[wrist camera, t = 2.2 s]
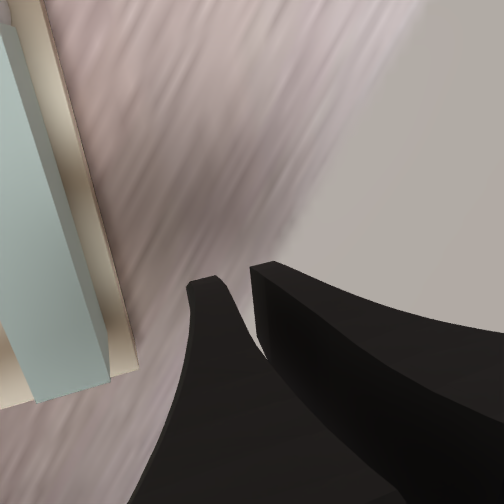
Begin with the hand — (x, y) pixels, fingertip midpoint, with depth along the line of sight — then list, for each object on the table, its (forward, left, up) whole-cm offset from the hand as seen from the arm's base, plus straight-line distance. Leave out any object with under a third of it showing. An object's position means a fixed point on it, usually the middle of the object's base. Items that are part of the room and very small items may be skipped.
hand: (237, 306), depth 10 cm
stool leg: (+2, +5, -7) cm, 9 cm away
